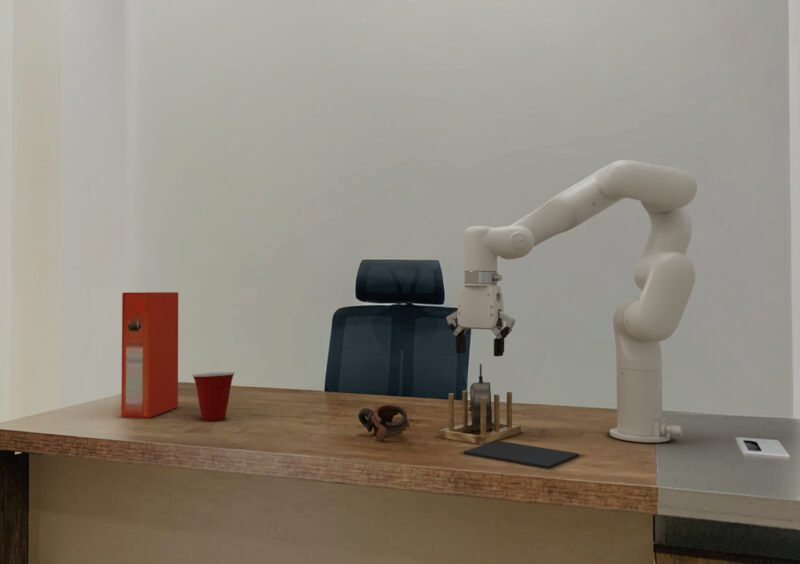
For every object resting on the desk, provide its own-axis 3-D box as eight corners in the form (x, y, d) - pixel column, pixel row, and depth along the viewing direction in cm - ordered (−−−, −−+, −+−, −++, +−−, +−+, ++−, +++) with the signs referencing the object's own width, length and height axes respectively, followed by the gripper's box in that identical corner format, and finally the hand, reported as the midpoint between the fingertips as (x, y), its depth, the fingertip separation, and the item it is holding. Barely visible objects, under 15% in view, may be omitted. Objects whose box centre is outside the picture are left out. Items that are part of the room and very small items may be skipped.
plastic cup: (219, 413, 188) (219, 368, 188) (243, 419, 180) (243, 371, 180) (183, 418, 180) (183, 371, 181) (206, 424, 173) (206, 375, 173)
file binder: (120, 417, 182) (122, 292, 183) (150, 406, 199) (152, 292, 200) (149, 418, 180) (151, 292, 181) (177, 407, 197) (179, 292, 198)
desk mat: (578, 455, 142) (578, 453, 142) (548, 468, 132) (548, 466, 132) (497, 442, 154) (497, 440, 154) (464, 453, 144) (463, 451, 144)
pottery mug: (410, 435, 163) (415, 407, 160) (398, 461, 156) (403, 433, 152) (362, 419, 167) (366, 391, 163) (347, 443, 159) (351, 415, 155)
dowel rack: (520, 432, 166) (520, 391, 166) (483, 444, 152) (483, 399, 153) (478, 426, 173) (478, 386, 173) (438, 437, 160) (438, 394, 160)
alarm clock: (493, 440, 157) (492, 366, 157) (468, 439, 158) (468, 365, 158) (492, 430, 167) (492, 361, 168) (469, 429, 168) (468, 361, 169)
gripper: (522, 280, 161) (521, 356, 160) (456, 280, 172) (455, 351, 172) (506, 279, 155) (505, 358, 155) (439, 279, 167) (438, 352, 166)
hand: (479, 354), depth 163 cm, fingers open, 9 cm apart
